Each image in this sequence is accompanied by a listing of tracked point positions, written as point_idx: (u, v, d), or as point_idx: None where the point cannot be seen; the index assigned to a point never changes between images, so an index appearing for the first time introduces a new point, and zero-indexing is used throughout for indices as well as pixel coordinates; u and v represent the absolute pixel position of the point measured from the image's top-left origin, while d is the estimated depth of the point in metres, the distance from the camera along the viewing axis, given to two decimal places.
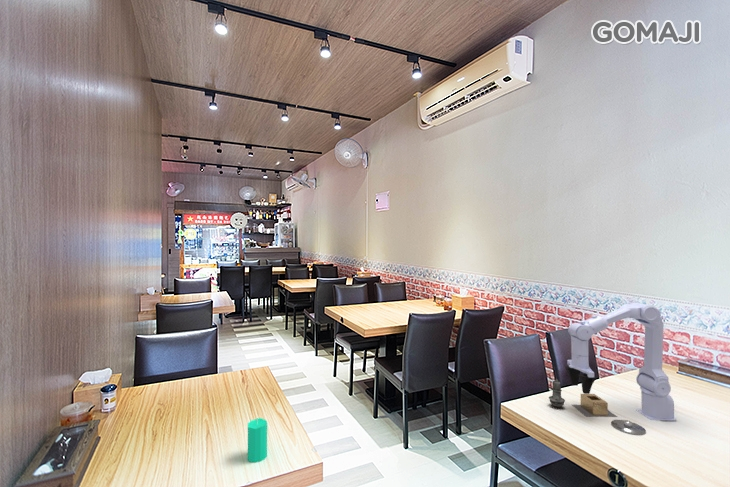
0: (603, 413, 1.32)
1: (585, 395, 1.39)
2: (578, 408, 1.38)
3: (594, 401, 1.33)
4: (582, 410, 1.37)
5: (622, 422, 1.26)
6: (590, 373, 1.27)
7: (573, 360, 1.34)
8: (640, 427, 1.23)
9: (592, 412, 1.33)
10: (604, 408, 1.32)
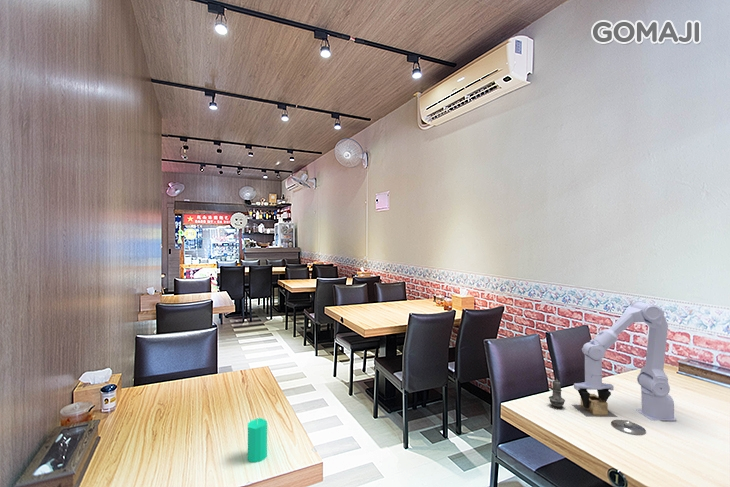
0: (603, 413, 1.32)
1: None
2: (578, 408, 1.38)
3: (594, 401, 1.33)
4: (582, 410, 1.37)
5: (622, 422, 1.26)
6: (574, 384, 1.37)
7: None
8: (640, 427, 1.23)
9: (592, 412, 1.33)
10: (604, 408, 1.32)
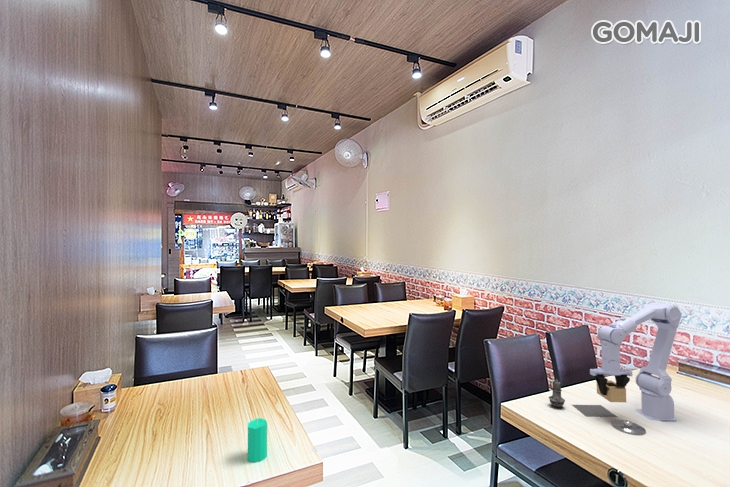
0: (621, 400, 1.25)
1: None
2: (578, 408, 1.38)
3: (612, 387, 1.27)
4: (582, 410, 1.37)
5: (622, 422, 1.26)
6: (590, 370, 1.30)
7: None
8: (640, 427, 1.23)
9: (610, 399, 1.26)
10: (622, 394, 1.26)
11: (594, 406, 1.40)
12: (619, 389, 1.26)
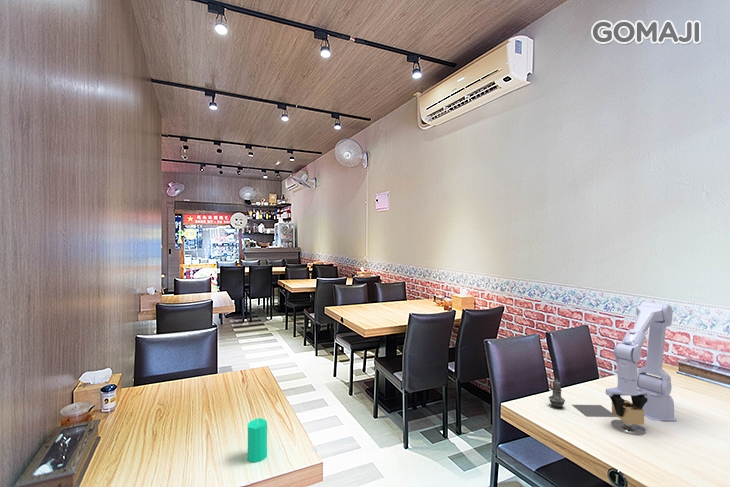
0: (639, 422, 1.19)
1: None
2: (578, 408, 1.38)
3: (629, 408, 1.21)
4: (582, 410, 1.37)
5: (622, 422, 1.26)
6: (606, 390, 1.24)
7: None
8: (640, 427, 1.23)
9: (627, 421, 1.20)
10: (640, 416, 1.20)
11: (594, 406, 1.40)
12: (637, 410, 1.20)
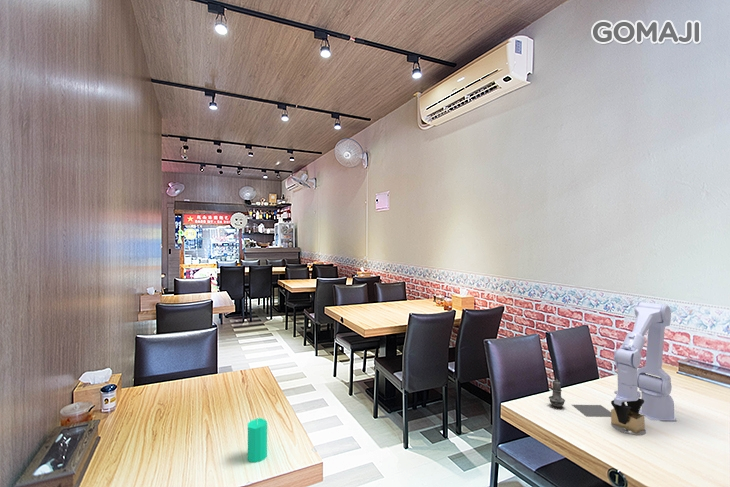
0: (642, 428, 1.20)
1: None
2: (578, 408, 1.38)
3: (635, 417, 1.20)
4: (582, 410, 1.37)
5: None
6: (615, 399, 1.20)
7: None
8: None
9: (635, 430, 1.19)
10: (642, 422, 1.21)
11: (594, 406, 1.40)
12: (641, 417, 1.20)
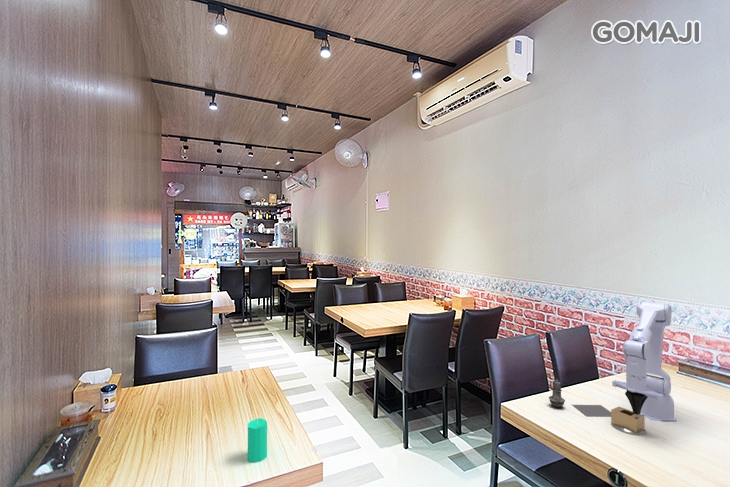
0: (642, 428, 1.20)
1: (617, 411, 1.25)
2: (578, 408, 1.38)
3: (635, 417, 1.20)
4: (582, 410, 1.37)
5: None
6: (661, 396, 1.15)
7: (633, 383, 1.19)
8: None
9: (635, 430, 1.19)
10: (642, 422, 1.21)
11: (594, 406, 1.40)
12: (641, 417, 1.20)
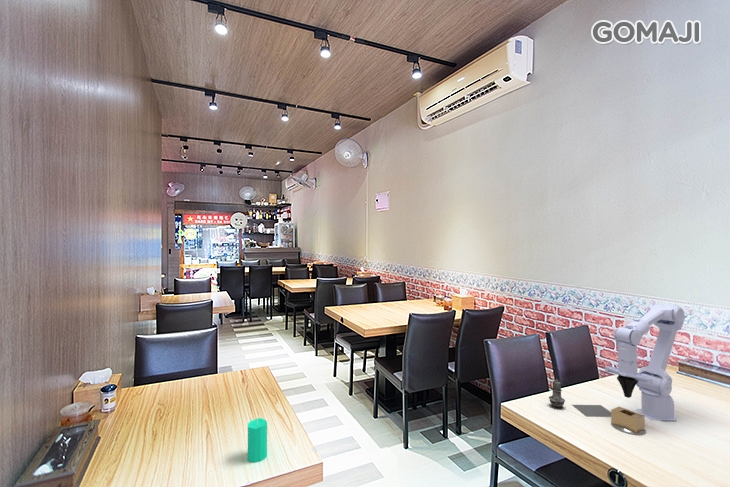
0: (642, 428, 1.20)
1: (617, 411, 1.25)
2: (578, 408, 1.38)
3: (635, 417, 1.20)
4: (582, 410, 1.37)
5: None
6: (650, 379, 1.21)
7: (625, 367, 1.26)
8: None
9: (635, 430, 1.19)
10: (642, 422, 1.21)
11: (594, 406, 1.40)
12: (641, 417, 1.20)
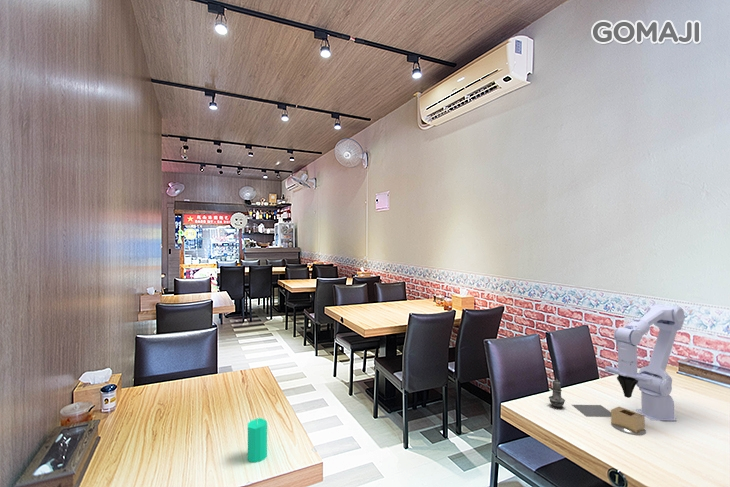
0: (642, 428, 1.20)
1: (617, 411, 1.25)
2: (578, 408, 1.38)
3: (635, 417, 1.20)
4: (582, 410, 1.37)
5: None
6: (650, 379, 1.21)
7: (625, 367, 1.26)
8: None
9: (635, 430, 1.19)
10: (642, 422, 1.21)
11: (594, 406, 1.40)
12: (641, 417, 1.20)
